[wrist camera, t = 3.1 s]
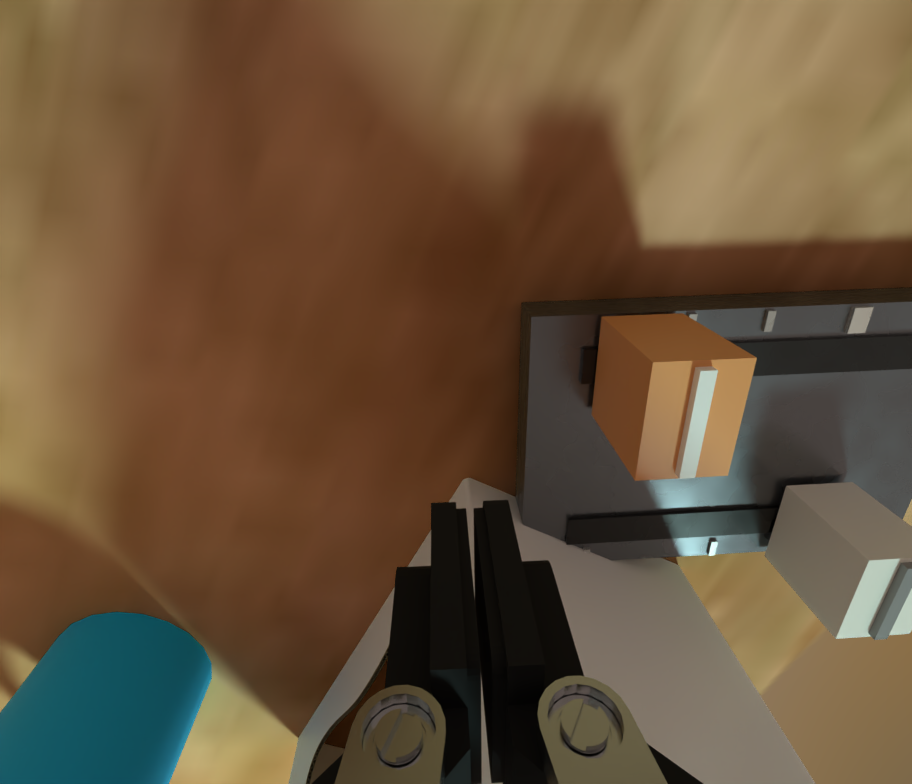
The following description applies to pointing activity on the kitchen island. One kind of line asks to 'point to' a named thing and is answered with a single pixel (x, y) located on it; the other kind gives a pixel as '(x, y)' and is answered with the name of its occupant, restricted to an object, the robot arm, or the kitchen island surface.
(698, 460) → the fader orange
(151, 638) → the mug
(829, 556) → the fader ivory
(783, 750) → the gable box
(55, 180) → the kitchen island surface
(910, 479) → the console
